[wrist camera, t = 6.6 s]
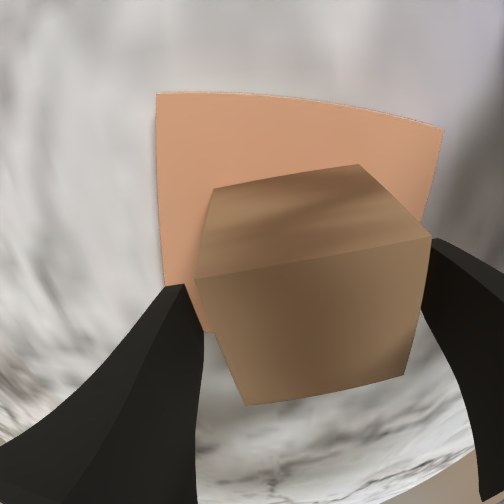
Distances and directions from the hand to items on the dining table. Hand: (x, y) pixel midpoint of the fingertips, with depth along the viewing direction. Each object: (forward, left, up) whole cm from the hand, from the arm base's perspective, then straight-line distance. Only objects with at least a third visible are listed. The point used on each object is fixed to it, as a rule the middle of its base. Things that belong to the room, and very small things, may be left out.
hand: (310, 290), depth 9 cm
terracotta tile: (0, 0, -4) cm, 4 cm away
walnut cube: (0, 0, -3) cm, 3 cm away
